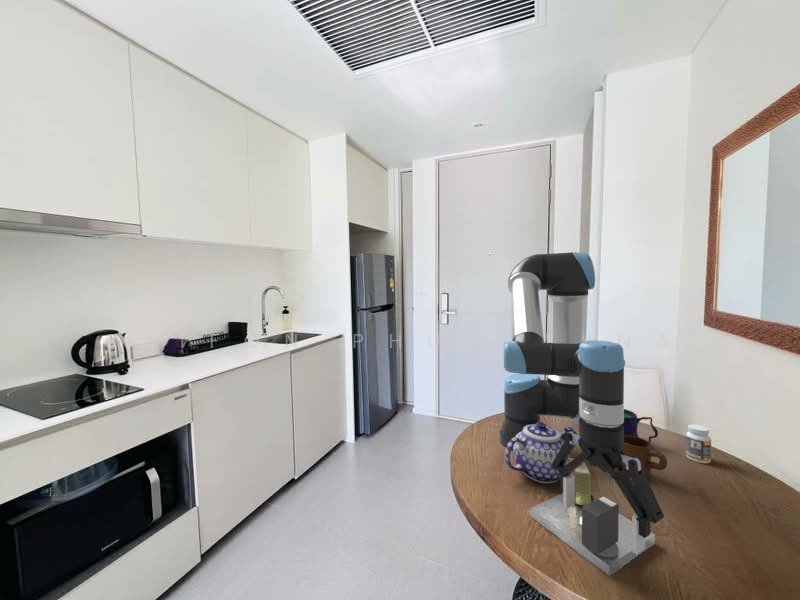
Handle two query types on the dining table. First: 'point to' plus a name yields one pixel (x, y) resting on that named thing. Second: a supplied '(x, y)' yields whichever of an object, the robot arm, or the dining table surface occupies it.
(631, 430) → the mug
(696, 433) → the pill bottle
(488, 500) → the dining table surface
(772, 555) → the dining table surface
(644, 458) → the mug
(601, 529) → the dark grey block
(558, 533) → the plate
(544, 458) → the teapot
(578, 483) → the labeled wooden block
